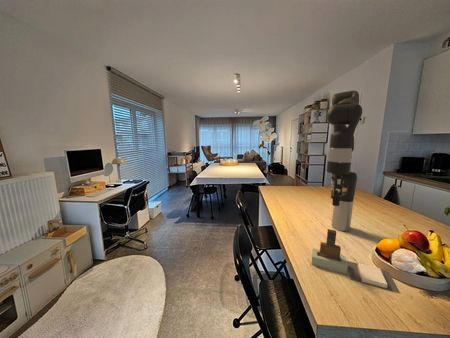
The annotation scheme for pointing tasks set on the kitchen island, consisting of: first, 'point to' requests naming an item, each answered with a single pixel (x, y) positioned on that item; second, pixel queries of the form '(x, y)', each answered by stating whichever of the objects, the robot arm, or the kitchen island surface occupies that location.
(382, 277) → the tile
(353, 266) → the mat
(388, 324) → the kitchen island surface
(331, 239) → the brown wooden block
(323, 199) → the kitchen island surface
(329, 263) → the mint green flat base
